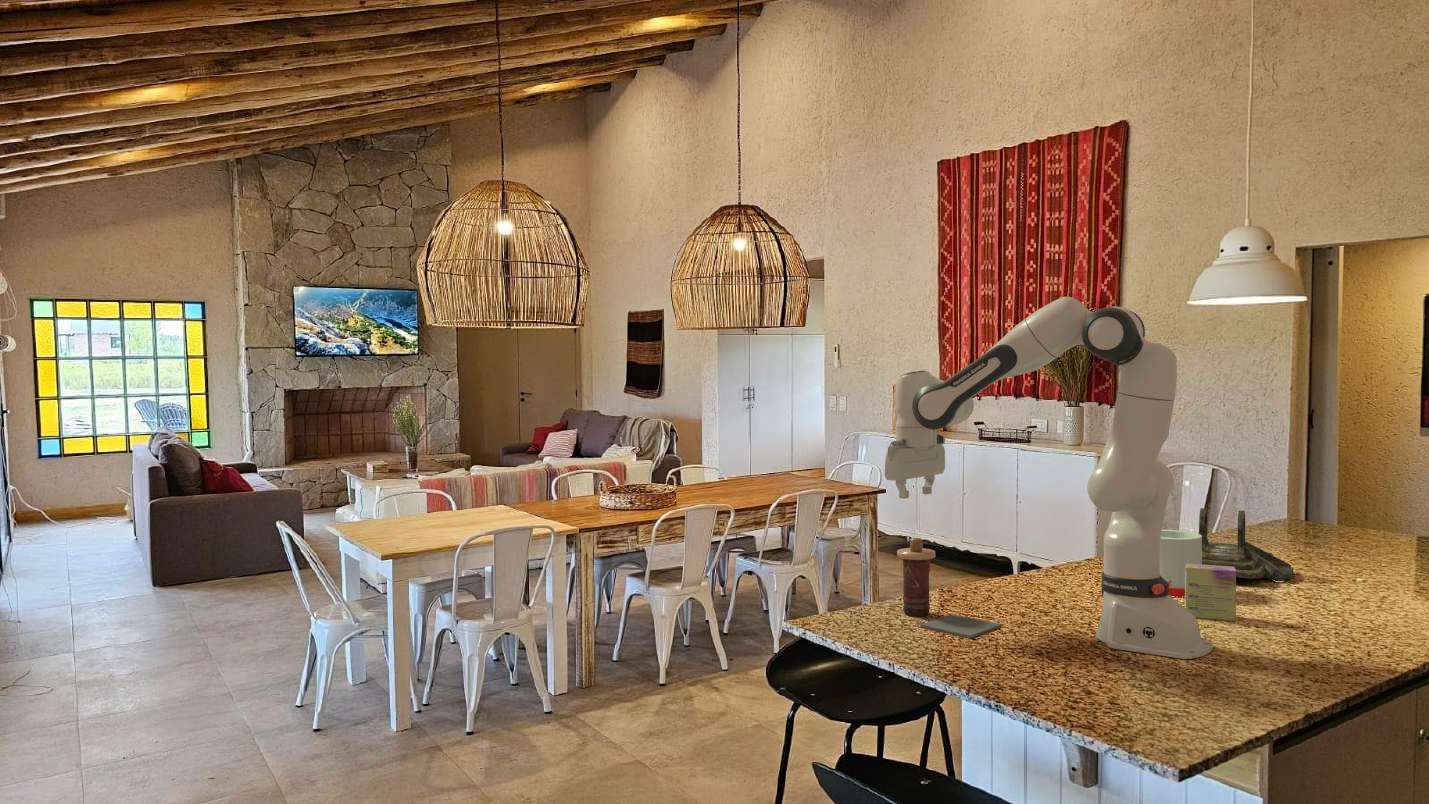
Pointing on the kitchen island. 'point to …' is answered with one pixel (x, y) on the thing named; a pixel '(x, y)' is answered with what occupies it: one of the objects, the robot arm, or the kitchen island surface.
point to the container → (1178, 557)
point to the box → (1211, 591)
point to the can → (916, 587)
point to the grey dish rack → (1242, 555)
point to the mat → (961, 626)
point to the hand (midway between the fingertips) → (915, 496)
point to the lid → (916, 551)
